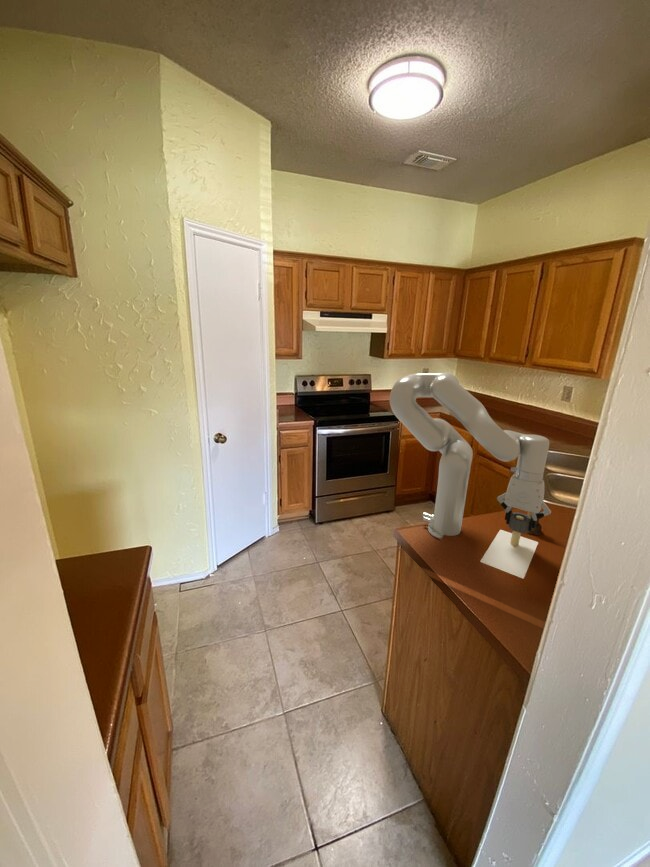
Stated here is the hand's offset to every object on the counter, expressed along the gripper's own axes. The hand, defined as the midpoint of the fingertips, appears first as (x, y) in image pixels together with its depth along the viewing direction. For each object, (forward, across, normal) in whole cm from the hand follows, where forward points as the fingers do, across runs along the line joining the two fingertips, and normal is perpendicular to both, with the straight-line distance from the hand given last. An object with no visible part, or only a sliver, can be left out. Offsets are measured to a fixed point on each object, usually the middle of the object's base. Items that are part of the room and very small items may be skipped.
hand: (519, 525), depth 117 cm
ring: (+1, 0, 0) cm, 1 cm away
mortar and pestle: (+9, +2, +17) cm, 19 cm away
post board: (+9, 0, -5) cm, 10 cm away
